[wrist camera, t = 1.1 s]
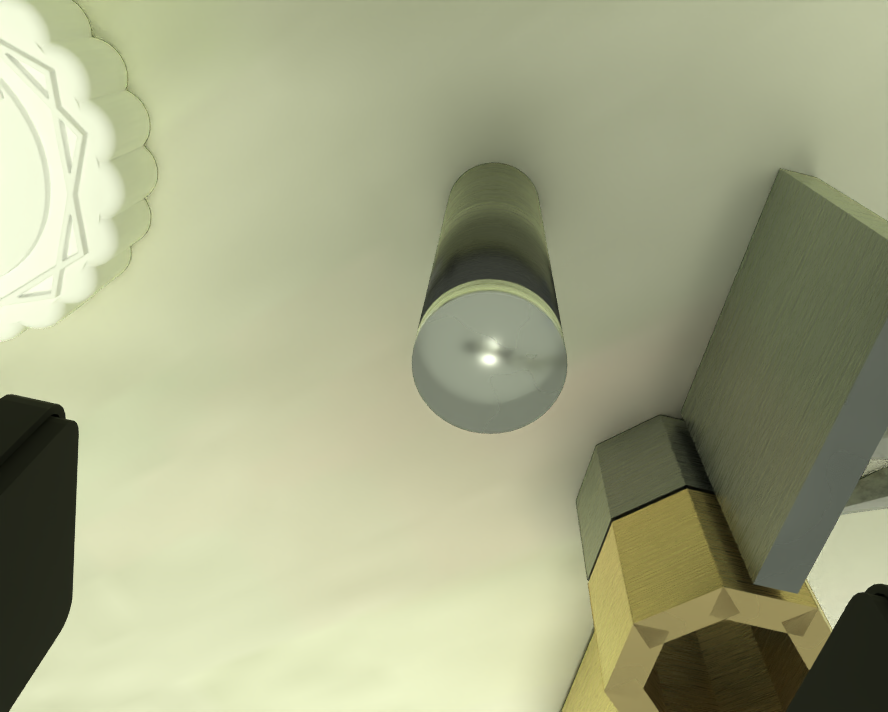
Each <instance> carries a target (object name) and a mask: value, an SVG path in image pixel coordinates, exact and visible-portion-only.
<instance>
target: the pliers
mask: <svg viewBox="0 0 888 712" xmlns="http://www.w3.org/2000/svg"><path fill="white" fill-rule="evenodd" d="M871 459H888V428H887V429H886V431H885V433H884V435H883V437H882V439H881V441H880V442H879V444H878V446H877V448H876V450H875V452H874V454H873V455H872V457H871ZM884 508H888V467H886V468H883V469H880V470H878V471H876V472H874V473H872V474H870V475H868V476H866V477H864V478H862V479H860V480H859V481H858V483H857V485H856V487H855V489H854V491H853V492H852V494H851V496H850V498H849V500H848V502H847V504H846V505H845V507H844V509H843V511H842V513H841V514H848V513H856V512H863V511H870V510H877V509H884Z"/></svg>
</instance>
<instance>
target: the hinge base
mask: <svg viewBox="0 0 888 712" xmlns="http://www.w3.org/2000/svg"><path fill="white" fill-rule="evenodd" d="M681 414H682V416H683V418H684V420H679V419H675V418H671V417H666V416H662V415H659V416H657V417H654V418H652V419H650V420H648V421H646V422H644V423H642V424H640V425H638V426H636V427H634V428H632V429H629V430H627V431H625V432H623V433H621V434H619V435H617V436H615V437H613V438H611V439H609V440H607V441H604V442H602V443H600V444H598V445H596V447H595V450H594V453H593V456H592V458H591V461H590V464H589V467H588V469H587V472H586V475H585V478H584V480H583V483H582V486H581V489H580V491H579V494H578V497H577V500H576V506H577V513H578V520H579V527H580V533H581V540H582V547H583V554H584V561H585V568H586V574H587V580H588V581H589V580H590V577H591V575H592V572H593V570H594V567H595V565H596V562H597V560H598V557H599V554H600V552H601V549H602V547H603V544H604V542H605V539H606V537H607V534H608V531H609V529H610V526H611V524H612V522H614V521H616V520H618V519H620V518H623V517H625V516H627V515H629V514H631V513H634V512H636V511H638V510H640V509H643V508H645V507H647V506H649V505H651V504H654V503H656V502H658V501H660V500H663V499H665V498H667V497H669V496H672V495H674V494H676V493H678V492H680V491H683V490H685V489H687V488H688V489H691V490H696V491H700V492H704V493H709V494H713V495H716V497H717V499H718V501H719V504H720V506H721V509H722V511H723V513H724V516H725V518H726V520H727V523H728V525H729V528H730V530H731V532H732V535H733V537H734V539H735V542H736V544H737V547H738V549H739V551H740V554H741V556H742V558H743V561H744V563H745V565H746V568H747V570H748V573H749V575H750V577H751V580H752V582H753V584H756V585H760V586H765V587H769V588H773V589H778V590H782V591H787V592H791V593H795V594H798V593H799V591H800V589H801V587H802V585H803V583H804V582H805V580H806V578H807V576H808V574H809V572H810V570H811V569H812V567H813V565H814V563H815V561H816V559H817V557H818V556H819V554H820V552H821V550H822V548H823V546H824V544H825V543H826V541H827V539H828V537H829V535H830V533H831V531H832V530H833V528H834V526H835V524H836V522H837V520H838V518H839V517H840V515H841V513H842V511H843V509H844V507H845V505H846V504H847V502H848V500H849V498H850V496H851V494H852V492H853V491H854V489H855V487H856V485H857V483H858V481H859V479H860V478H861V476H862V474H863V472H864V470H865V468H866V467H867V465H868V463H869V461H870V459H871V457H872V455H873V454H874V452H875V450H876V448H877V446H878V444H879V442H880V441H881V439H882V437H883V435H884V433H885V431H886V429H887V428H888V221H887V220H885V219H883V218H882V217H880V216H878V215H877V214H875V213H874V212H872V211H870V210H869V209H867V208H865V207H864V206H862V205H861V204H859V203H857V202H856V201H854V200H852V199H851V198H849V197H848V196H846V195H844V194H843V193H841V192H839V191H838V190H836V189H835V188H833V187H831V186H830V185H828V184H826V183H825V182H823V181H822V180H820V179H818V178H817V177H813V176H809V175H805V174H801V173H797V172H793V171H789V170H785V169H781V168H780V170H779V172H778V175H777V177H776V180H775V182H774V185H773V187H772V190H771V192H770V195H769V197H768V199H767V202H766V204H765V207H764V209H763V212H762V214H761V217H760V219H759V222H758V224H757V226H756V229H755V231H754V234H753V236H752V239H751V241H750V244H749V246H748V249H747V251H746V253H745V256H744V258H743V261H742V263H741V266H740V268H739V271H738V273H737V276H736V278H735V280H734V283H733V285H732V288H731V290H730V293H729V295H728V298H727V300H726V303H725V305H724V307H723V310H722V312H721V315H720V317H719V320H718V322H717V325H716V327H715V330H714V332H713V334H712V337H711V339H710V342H709V344H708V347H707V349H706V352H705V354H704V357H703V359H702V361H701V364H700V366H699V369H698V371H697V374H696V376H695V379H694V381H693V384H692V386H691V388H690V391H689V393H688V396H687V398H686V401H685V403H684V406H683V408H682V411H681Z"/></svg>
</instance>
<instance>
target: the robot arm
mask: <svg viewBox="0 0 888 712" xmlns="http://www.w3.org/2000/svg"><path fill="white" fill-rule="evenodd" d="M78 438H79V431H78V425H77V423H76V422H75V421H72V420H68V419H66V418H65V412H64V409H63V407H62V406H60V405H59V404H54V403H50V402H45V401H41V400H36V399H31V398H27V397H22V396H18V395H13V394H10V395H5V396H4V397H2V398H1V399H0V712H9V710H10V709H11V707H12V706H13V704H14V703H15V701H16V700H17V698H18V697H19V695H20V693H21V692H22V690H23V689H24V687H25V686H26V684H27V683H28V681H29V680H30V678H31V676H32V675H33V673H34V672H35V670H36V669H37V667H38V666H39V664H40V663H41V661H42V660H43V658H44V656H45V655H46V653H47V652H48V650H49V649H50V647H51V646H52V644H53V643H54V641H55V639H56V638H57V636H58V635H59V633H60V632H61V630H62V628H63V626H64V624H65V622H66V620H67V617H68V614H69V611H70V607H71V603H72V592H73V566H74V541H75V515H76V489H77V464H78ZM786 712H888V585H884V584H874V585H873V586H871V587H869V588H868V589H867V590H866V591H865V593H864V592H862V593H857V594H856V595H854V596H853V597H852V599H851V600H850V601H849V603H848V605H847V606H846V608H845V610H844V612H843V613H842V615H841V617H840V618H839V620H838V622H837V624H836V625H835V627H834V629H833V631H832V632H831V634H830V636H829V637H828V639H827V641H826V643H825V644H824V646H823V648H822V650H821V651H820V653H819V655H818V656H817V658H816V660H815V662H814V663H813V665H812V667H811V669H810V670H809V672H808V674H807V675H806V677H805V679H804V681H803V682H802V684H801V686H800V688H799V689H798V691H797V693H796V694H795V696H794V698H793V700H792V701H791V703H790V705H789V707H788V708H787V710H786Z"/></svg>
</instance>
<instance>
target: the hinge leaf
mask: <svg viewBox="0 0 888 712" xmlns="http://www.w3.org/2000/svg"><path fill="white" fill-rule="evenodd" d="M588 588H589V595H590V602H591V608H592V615H593V622H594V629H595V631H594V634H593V636H592V639H591V641H590V643H589V646H588V648H587V651H586V653H585V656H584V658H583V661H582V663H581V665H580V668H579V670H578V673H577V675H576V678H575V680H574V682H573V685H572V687H571V690H570V692H569V695H568V697H567V700H566V702H565V704H564V707H563V709H562V712H786V710H787V708H788V707H789V705H790V703H791V701H792V700H793V698H794V696H795V694H796V693H797V691H798V689H799V688H800V686H801V684H802V682H803V681H804V679H805V677H806V675H807V674H808V672H809V670H810V669H811V667H812V665H813V663H814V662H815V660H816V658H817V656H818V655H819V653H820V651H821V650H822V648H823V646H824V644H825V643H826V641H827V639H828V637H829V636H830V634H831V632H832V631H833V630H832V628H831V626H830V624H829V622H828V620H827V618H826V616H825V614H824V612H823V610H822V608H821V607H820V605H819V603H818V601H817V599H816V597H815V595H814V593H813V591H812V589H811V587H810V585H809V583H808V581H807V579H806V580H805V582H804V583H803V585H802V587H801V589H800V591H799V593H798V594H795V593H791V592H787V591H782V590H778V589H773V588H769V587H765V586H760V585H756V584H753V582H752V580H751V577H750V575H749V573H748V570H747V568H746V565H745V563H744V561H743V558H742V556H741V554H740V551H739V549H738V547H737V544H736V542H735V539H734V537H733V535H732V532H731V530H730V528H729V525H728V523H727V520H726V518H725V516H724V513H723V511H722V509H721V506H720V504H719V501H718V499H717V497H716V495H713V494H709V493H704V492H700V491H696V490H691V489H688V488H687V489H685V490H683V491H680V492H678V493H676V494H674V495H672V496H669V497H667V498H665V499H663V500H660V501H658V502H656V503H654V504H651V505H649V506H647V507H645V508H643V509H640V510H638V511H636V512H634V513H631V514H629V515H627V516H625V517H623V518H620V519H618V520H616V521H614V522H612V524H611V526H610V529H609V531H608V534H607V537H606V539H605V542H604V544H603V547H602V549H601V552H600V554H599V557H598V560H597V562H596V565H595V567H594V570H593V572H592V575H591V577H590V580H589V583H588Z"/></svg>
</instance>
